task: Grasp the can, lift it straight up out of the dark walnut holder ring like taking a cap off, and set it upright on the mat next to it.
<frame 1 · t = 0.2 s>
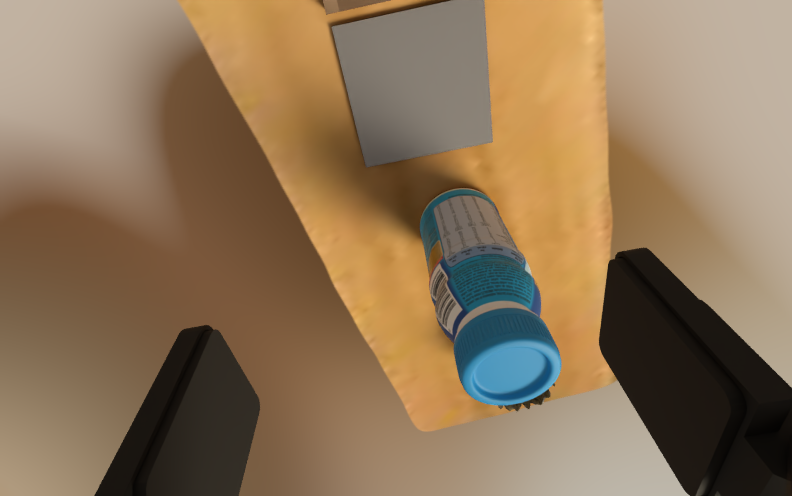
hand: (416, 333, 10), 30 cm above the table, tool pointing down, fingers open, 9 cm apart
cup: (503, 338, 54), on the table
mat: (418, 88, 36), on the table
beverage bottle: (457, 220, 44), on the table
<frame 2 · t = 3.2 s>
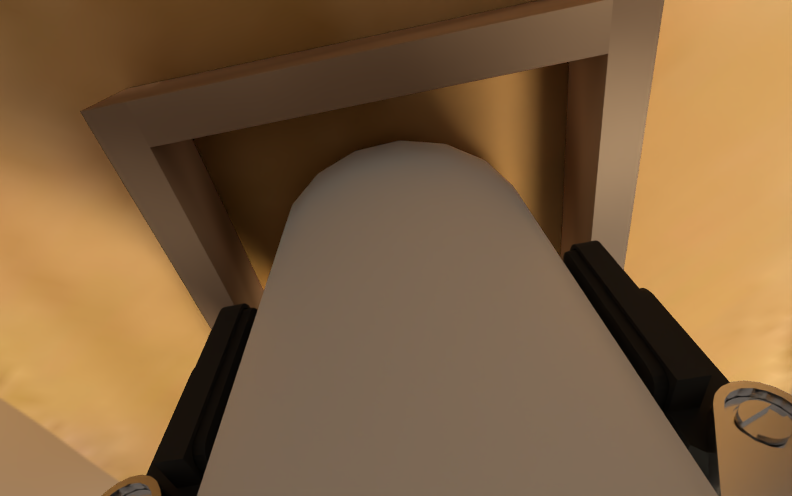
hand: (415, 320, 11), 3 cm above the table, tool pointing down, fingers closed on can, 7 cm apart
can: (404, 241, 14), resting in holder ring, touching gripper
holder ring: (404, 242, 13), on the table
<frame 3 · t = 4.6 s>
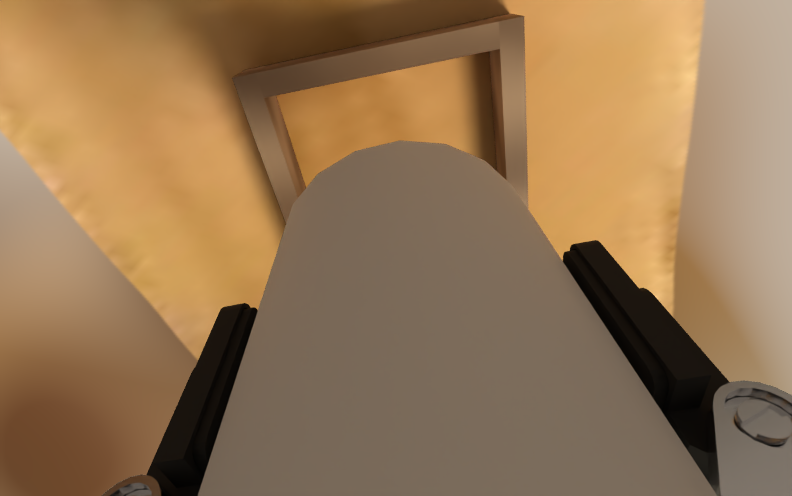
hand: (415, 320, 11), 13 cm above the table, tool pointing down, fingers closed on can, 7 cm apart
can: (404, 241, 14), point 9 cm above the table, touching gripper
holder ring: (399, 168, 22), on the table
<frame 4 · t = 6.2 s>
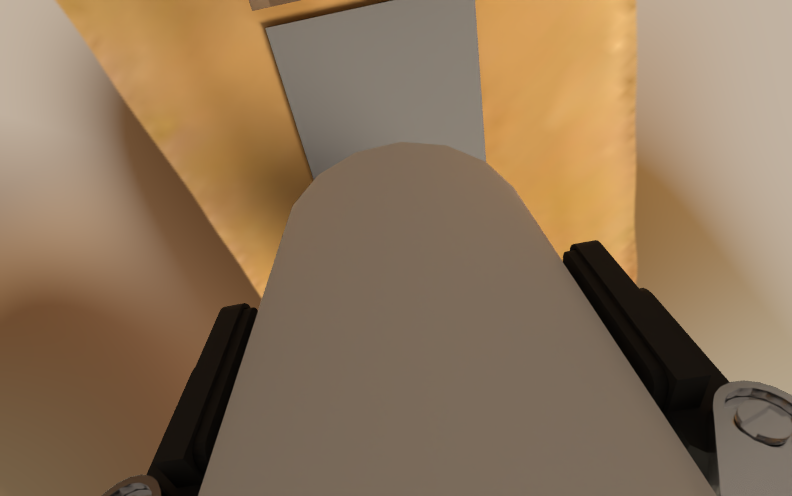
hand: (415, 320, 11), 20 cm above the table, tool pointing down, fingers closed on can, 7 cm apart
can: (404, 242, 14), point 16 cm above the table, touching gripper
mat: (388, 109, 27), on the table
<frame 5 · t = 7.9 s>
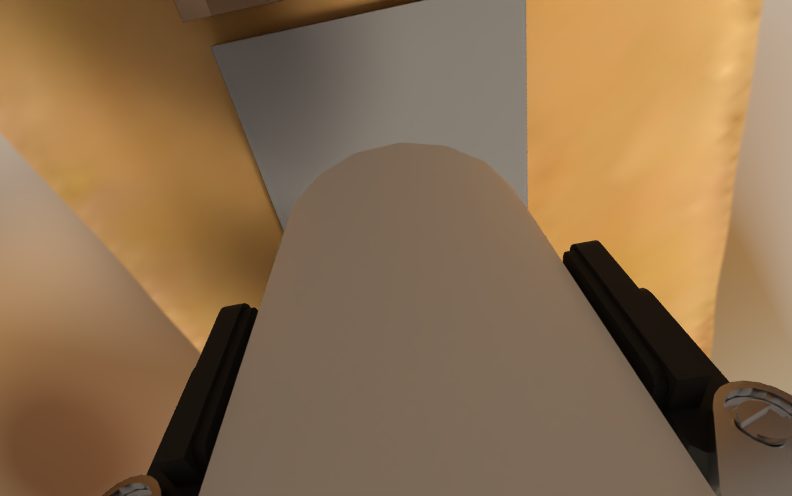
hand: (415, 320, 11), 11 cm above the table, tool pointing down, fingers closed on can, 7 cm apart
can: (404, 242, 14), point 7 cm above the table, touching gripper
mat: (393, 159, 19), on the table
when the fingers open (5 cm above the table, at t = 9.5 s): can drops 1 cm, resting on mat.
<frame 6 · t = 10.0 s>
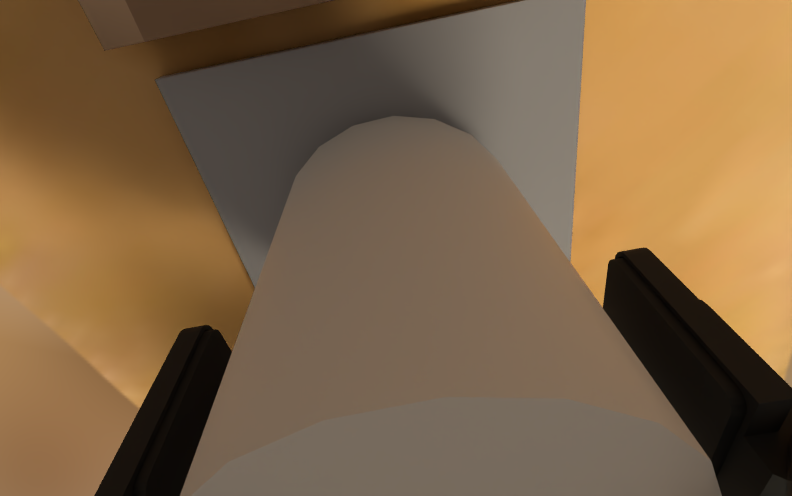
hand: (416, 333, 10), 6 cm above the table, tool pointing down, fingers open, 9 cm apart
can: (398, 214, 15), resting on mat
mat: (401, 216, 15), on the table
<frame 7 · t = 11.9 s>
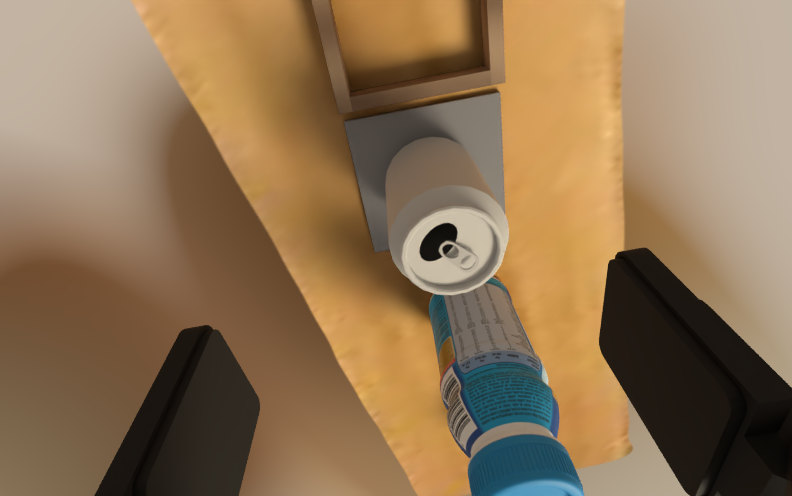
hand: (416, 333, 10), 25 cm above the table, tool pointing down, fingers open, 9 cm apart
can: (429, 177, 35), resting on mat
mat: (430, 178, 35), on the table
beverage bottle: (467, 301, 43), on the table
holder ring: (406, 1, 28), on the table
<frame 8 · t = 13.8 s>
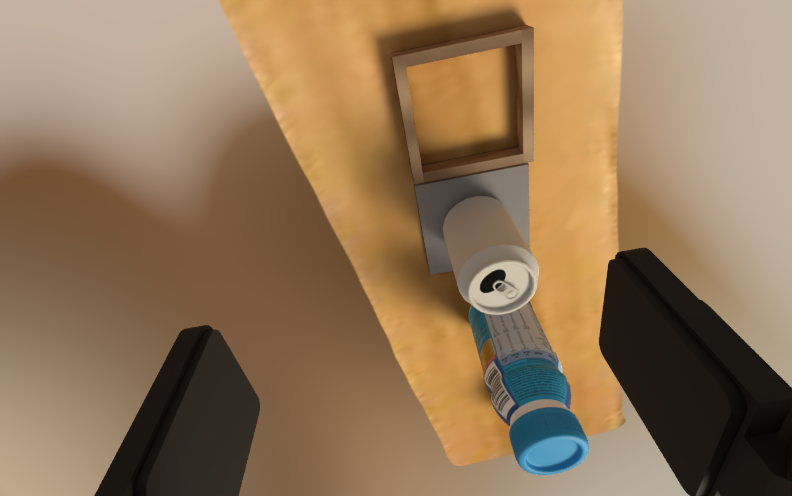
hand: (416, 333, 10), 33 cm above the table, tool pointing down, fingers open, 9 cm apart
can: (474, 221, 47), resting on mat
mat: (474, 222, 47), on the table
beverage bottle: (497, 308, 55), on the table
holder ring: (464, 107, 40), on the table
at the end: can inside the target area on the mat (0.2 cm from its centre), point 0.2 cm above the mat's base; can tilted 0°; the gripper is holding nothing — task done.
